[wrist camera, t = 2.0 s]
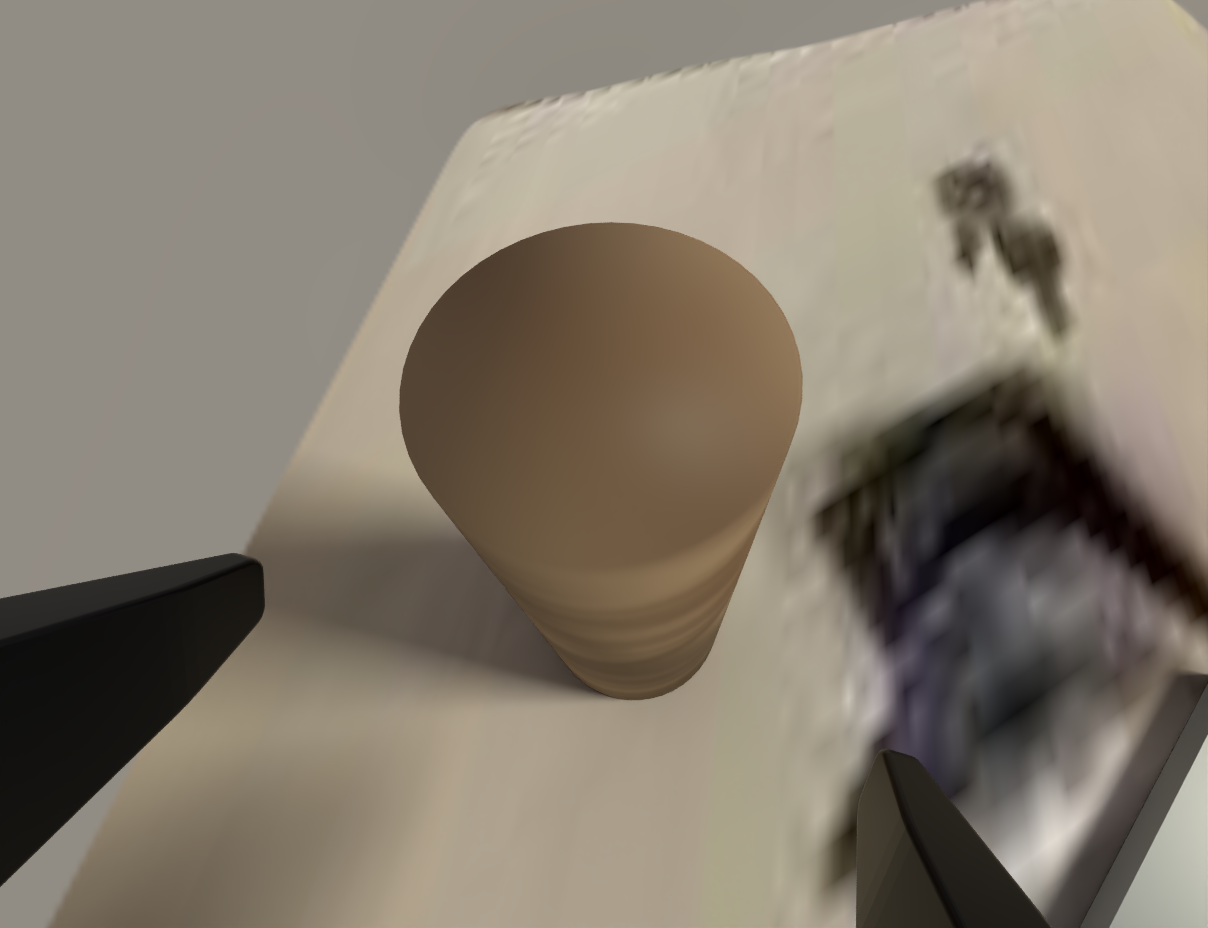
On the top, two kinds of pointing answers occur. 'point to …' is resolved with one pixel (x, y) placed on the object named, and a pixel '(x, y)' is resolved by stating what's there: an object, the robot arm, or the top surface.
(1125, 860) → the socket
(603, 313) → the plug
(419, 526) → the top surface
